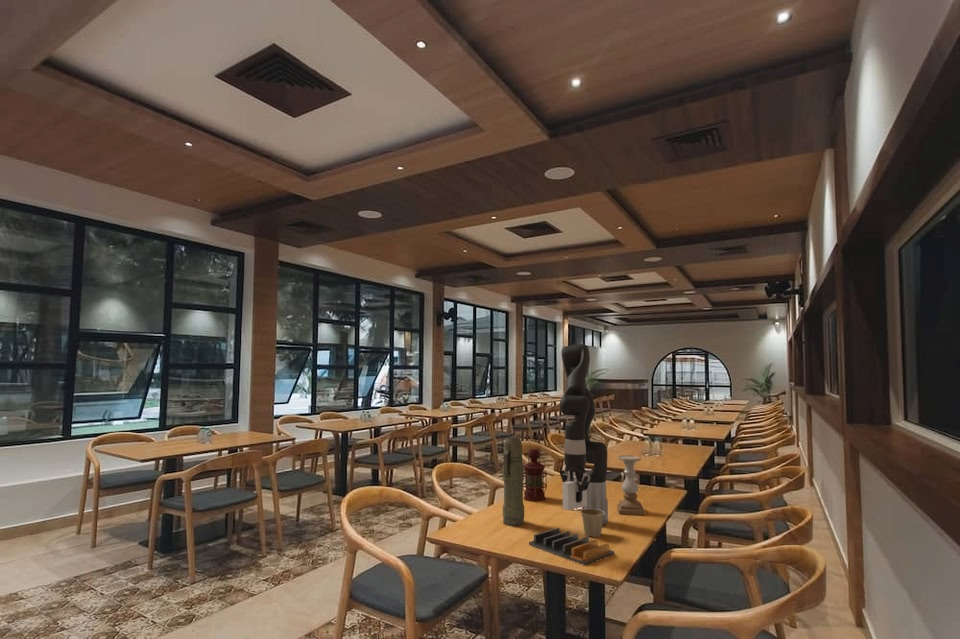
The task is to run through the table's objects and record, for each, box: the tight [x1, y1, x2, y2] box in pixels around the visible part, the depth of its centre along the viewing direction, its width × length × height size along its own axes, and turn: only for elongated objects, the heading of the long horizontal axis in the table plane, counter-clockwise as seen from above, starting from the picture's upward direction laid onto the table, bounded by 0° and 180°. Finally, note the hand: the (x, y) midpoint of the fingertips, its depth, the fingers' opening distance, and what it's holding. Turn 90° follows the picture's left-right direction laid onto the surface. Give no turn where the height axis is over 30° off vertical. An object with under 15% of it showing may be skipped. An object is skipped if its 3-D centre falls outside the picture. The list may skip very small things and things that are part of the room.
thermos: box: [502, 436, 525, 527], centre depth 224 cm, size 9×12×35 cm
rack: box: [528, 527, 616, 566], centre depth 191 cm, size 16×26×4 cm, turn 40°
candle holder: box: [616, 454, 646, 516], centre depth 239 cm, size 11×11×24 cm
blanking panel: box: [562, 481, 587, 511], centre depth 190 cm, size 10×2×9 cm, turn 128°
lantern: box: [523, 435, 548, 503], centre depth 262 cm, size 12×12×30 cm
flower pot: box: [579, 508, 605, 538], centre depth 208 cm, size 9×9×9 cm
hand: (575, 501), depth 190 cm, fingers closed on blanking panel, 2 cm apart
